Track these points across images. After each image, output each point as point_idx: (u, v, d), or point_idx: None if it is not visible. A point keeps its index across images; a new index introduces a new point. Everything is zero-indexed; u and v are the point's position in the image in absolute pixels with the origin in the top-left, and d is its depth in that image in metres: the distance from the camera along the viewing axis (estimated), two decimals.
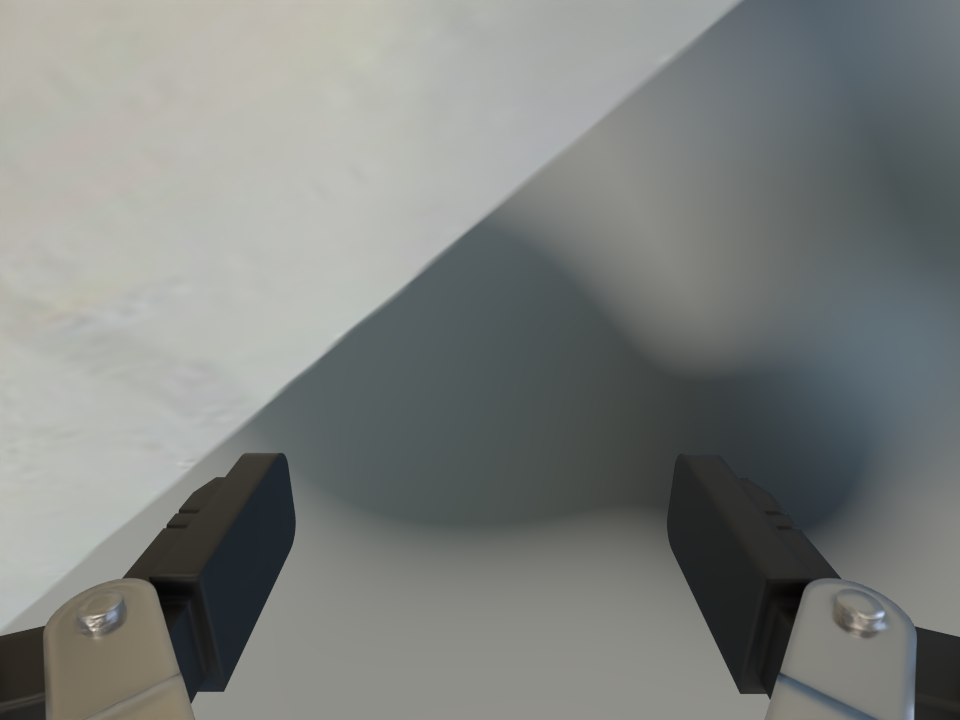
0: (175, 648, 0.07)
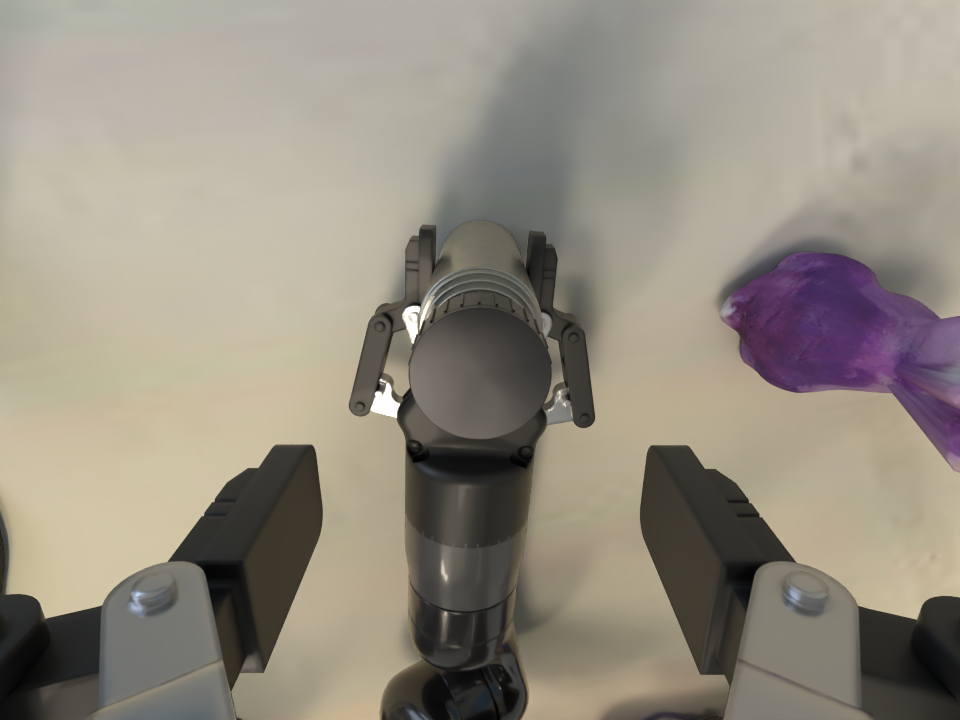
0: (222, 628, 0.08)
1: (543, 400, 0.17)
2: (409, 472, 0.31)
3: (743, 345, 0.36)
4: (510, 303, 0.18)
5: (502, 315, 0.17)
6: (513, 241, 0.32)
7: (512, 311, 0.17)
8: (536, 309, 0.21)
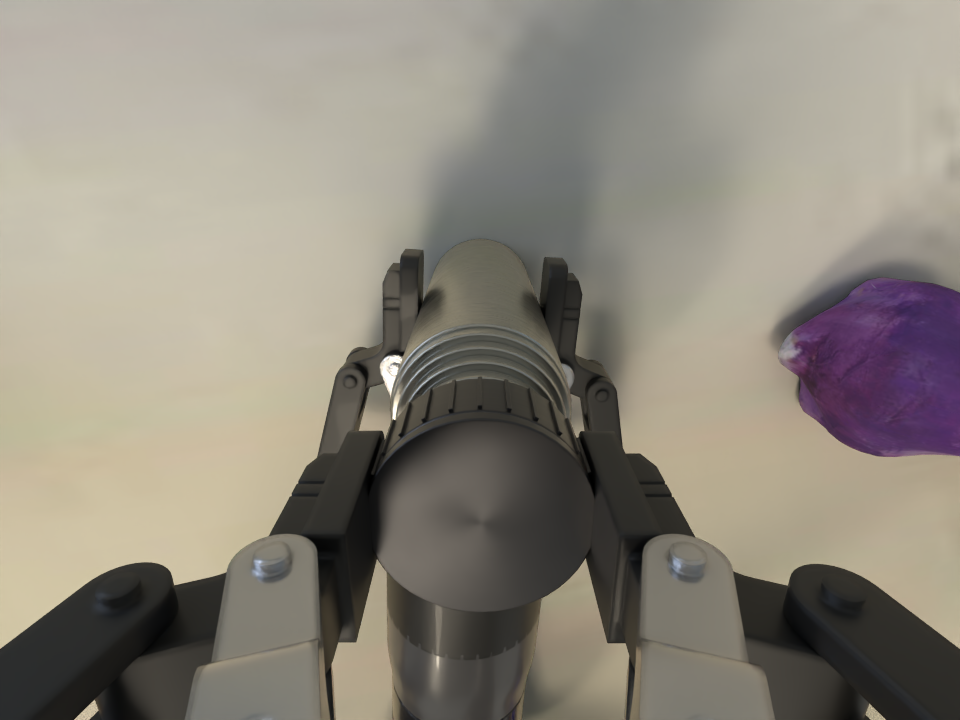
0: (328, 597, 0.08)
1: (583, 557, 0.11)
2: None
3: (804, 391, 0.29)
4: (529, 399, 0.11)
5: (518, 431, 0.10)
6: (522, 266, 0.26)
7: (534, 420, 0.10)
8: (563, 386, 0.14)
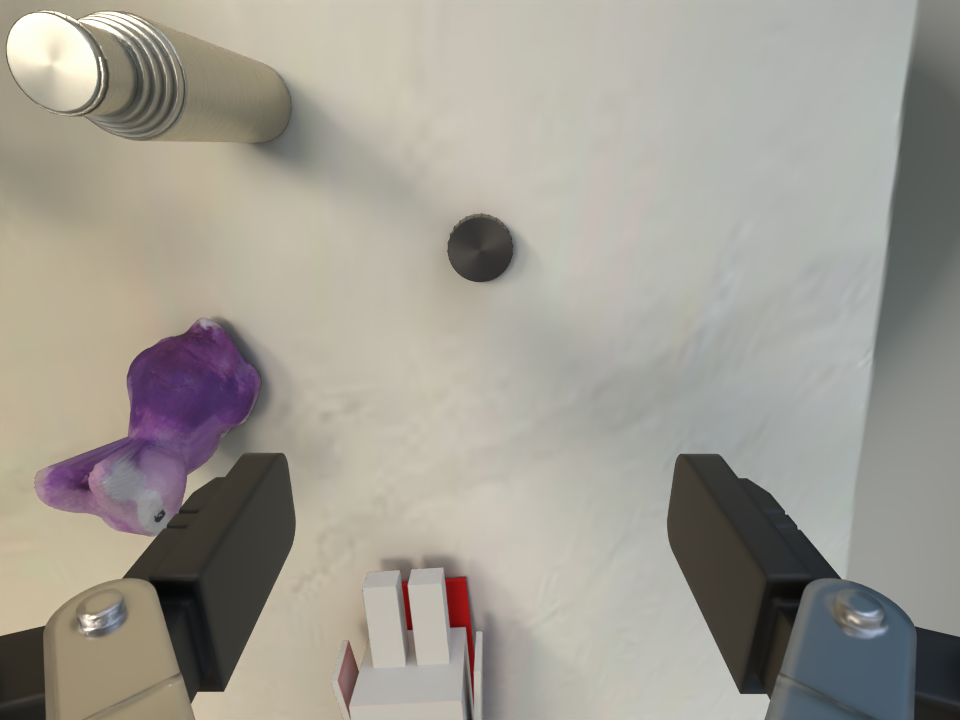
0: (175, 648, 0.07)
1: (510, 241, 0.38)
2: None
3: None
4: (473, 215, 0.38)
5: (469, 221, 0.37)
6: (265, 136, 0.35)
7: (473, 217, 0.38)
8: (147, 134, 0.24)
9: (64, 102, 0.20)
